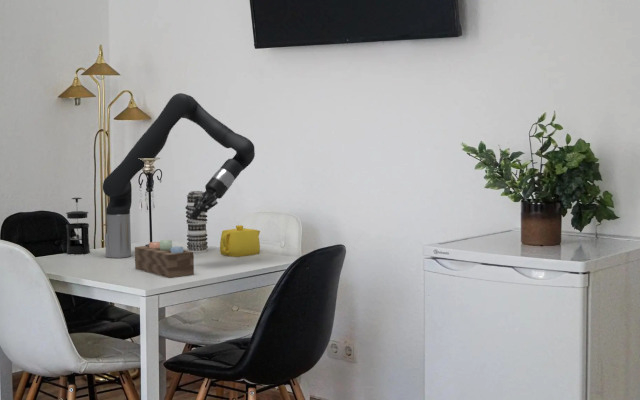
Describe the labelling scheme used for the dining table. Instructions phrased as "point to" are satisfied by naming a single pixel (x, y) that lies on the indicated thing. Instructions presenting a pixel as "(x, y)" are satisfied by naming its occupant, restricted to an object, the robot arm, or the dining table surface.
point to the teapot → (239, 242)
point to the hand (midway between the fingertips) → (192, 218)
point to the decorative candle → (196, 226)
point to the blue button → (176, 249)
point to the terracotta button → (154, 245)
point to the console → (164, 262)
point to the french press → (73, 247)
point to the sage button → (165, 245)
